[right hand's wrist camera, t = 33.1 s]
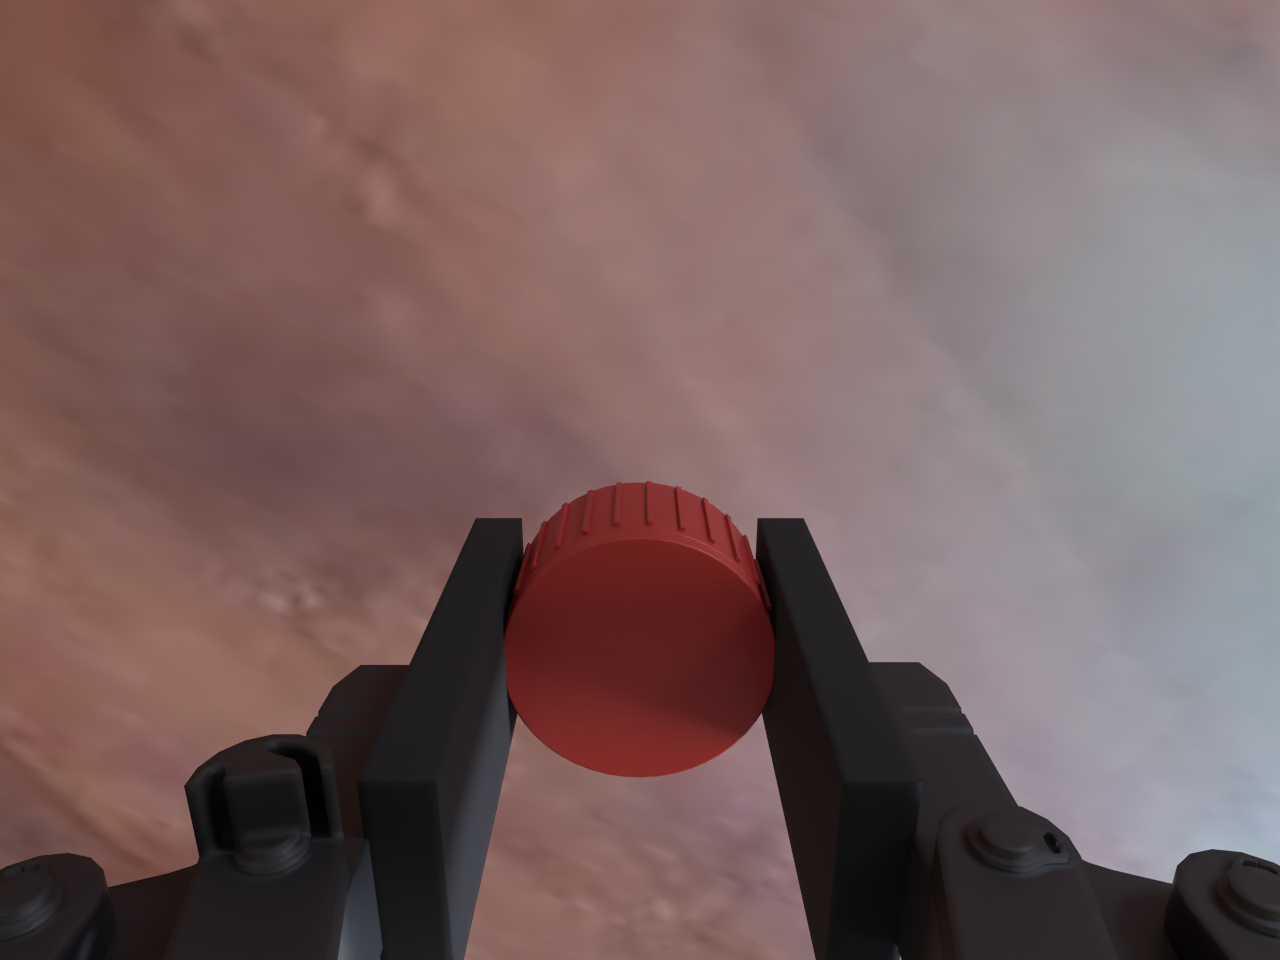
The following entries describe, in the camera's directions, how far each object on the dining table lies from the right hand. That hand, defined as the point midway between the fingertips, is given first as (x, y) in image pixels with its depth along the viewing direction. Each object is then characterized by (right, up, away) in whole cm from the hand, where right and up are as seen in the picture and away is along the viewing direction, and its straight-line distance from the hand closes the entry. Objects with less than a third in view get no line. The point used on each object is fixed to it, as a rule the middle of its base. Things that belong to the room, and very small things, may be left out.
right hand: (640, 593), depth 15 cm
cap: (0, -1, -2) cm, 2 cm away
